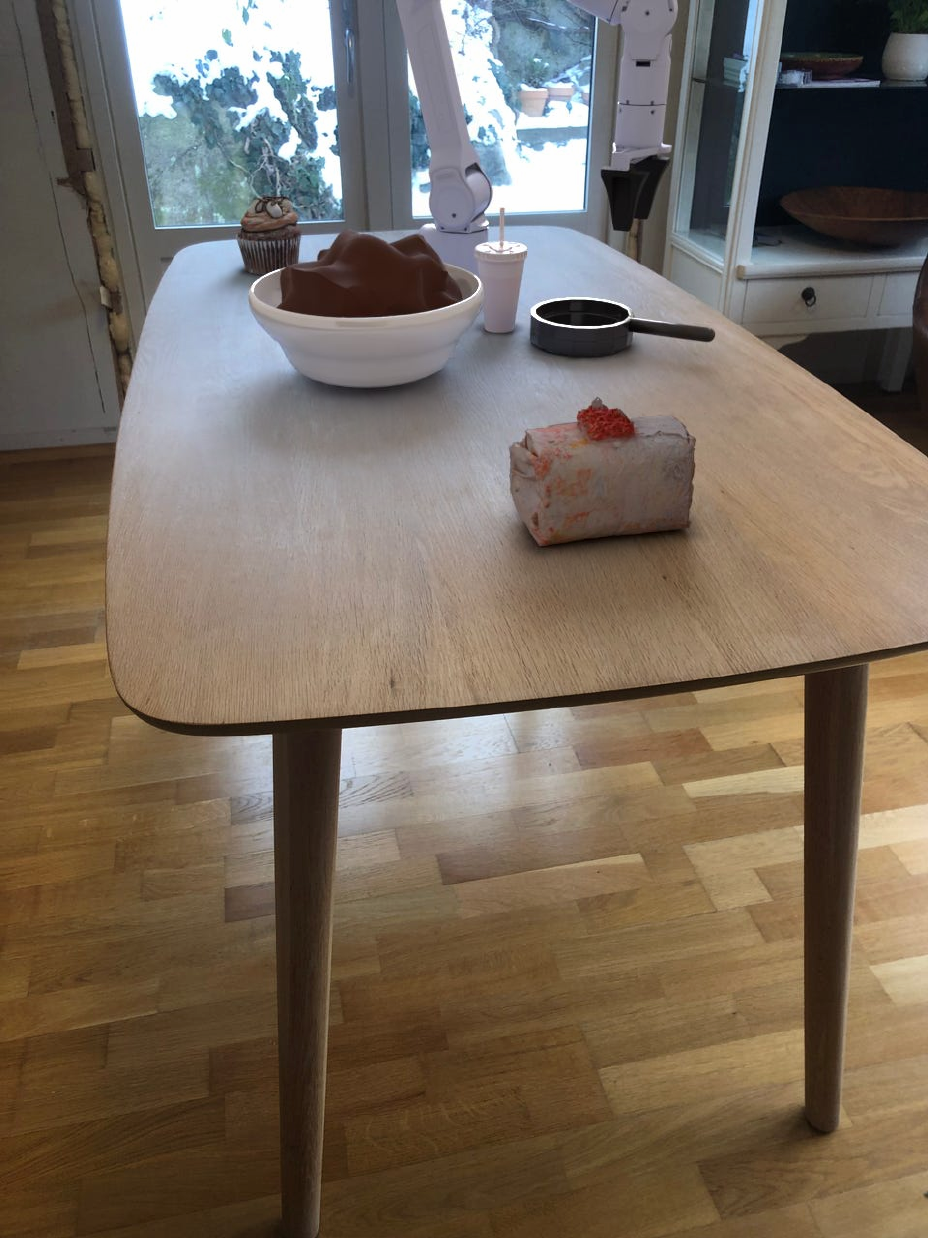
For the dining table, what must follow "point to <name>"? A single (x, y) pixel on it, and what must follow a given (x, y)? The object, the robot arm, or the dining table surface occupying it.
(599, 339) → the pan
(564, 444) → the food item
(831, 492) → the dining table surface
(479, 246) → the smoothie
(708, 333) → the pan handle
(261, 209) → the cupcake
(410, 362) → the bowl of chocolate mousse
